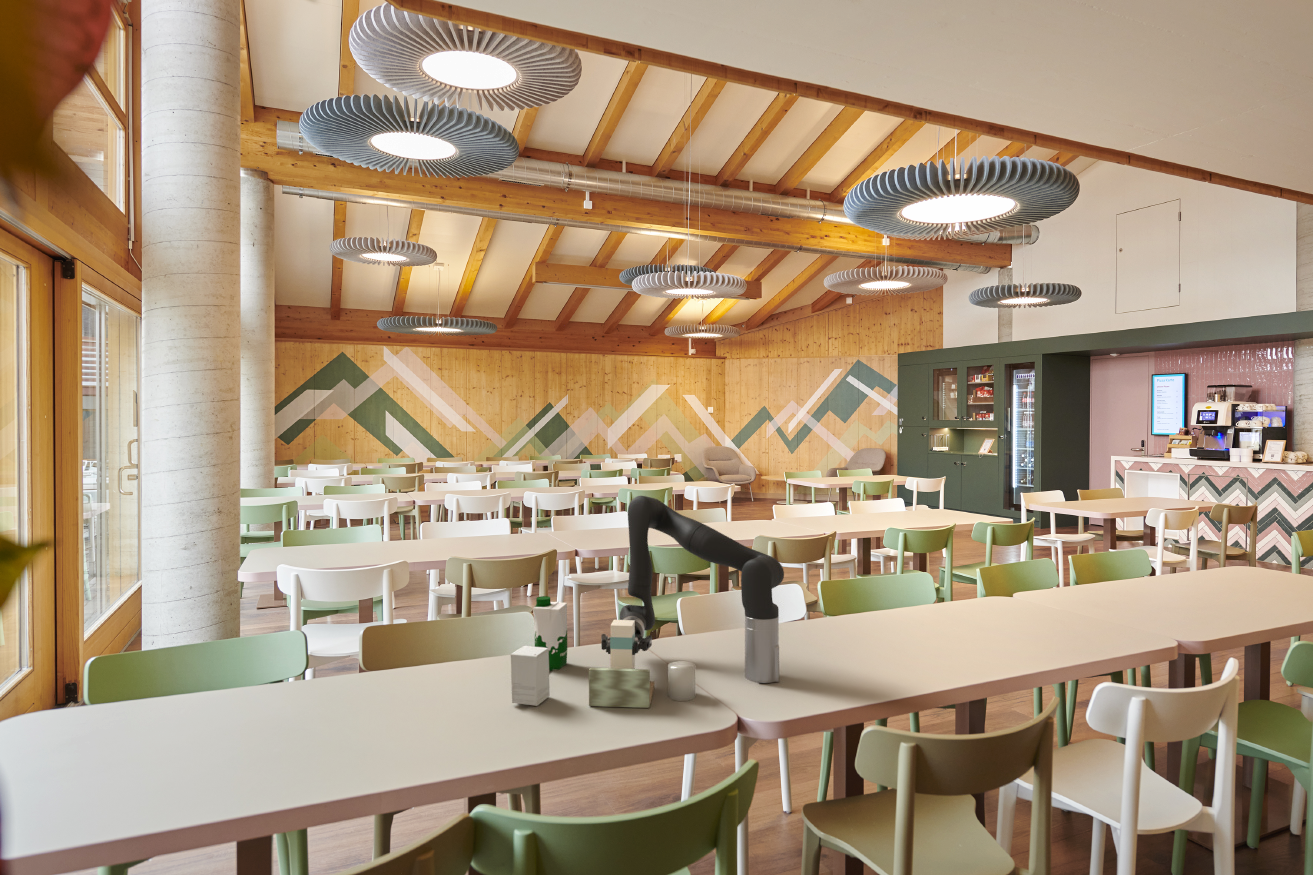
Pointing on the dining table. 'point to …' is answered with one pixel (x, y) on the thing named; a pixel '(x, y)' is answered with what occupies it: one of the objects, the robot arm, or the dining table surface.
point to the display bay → (620, 687)
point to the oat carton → (622, 644)
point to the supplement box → (530, 675)
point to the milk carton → (551, 630)
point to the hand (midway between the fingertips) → (621, 650)
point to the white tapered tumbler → (681, 681)
